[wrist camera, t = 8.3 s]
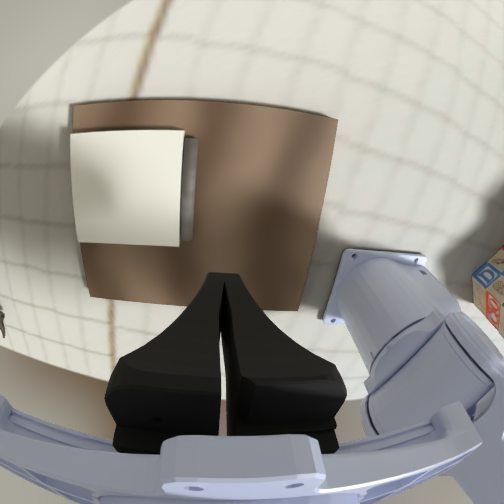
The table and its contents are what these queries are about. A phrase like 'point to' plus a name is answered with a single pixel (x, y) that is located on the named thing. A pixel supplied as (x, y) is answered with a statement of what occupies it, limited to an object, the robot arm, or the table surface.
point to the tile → (127, 186)
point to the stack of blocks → (491, 290)
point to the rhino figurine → (0, 323)
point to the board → (222, 201)
